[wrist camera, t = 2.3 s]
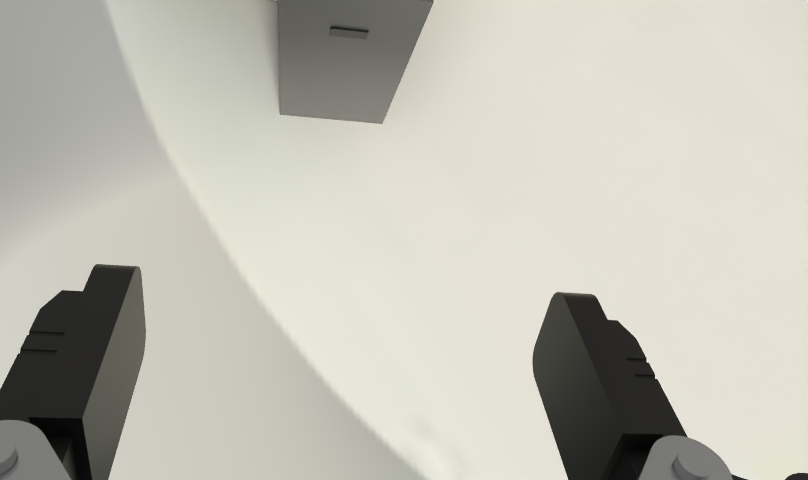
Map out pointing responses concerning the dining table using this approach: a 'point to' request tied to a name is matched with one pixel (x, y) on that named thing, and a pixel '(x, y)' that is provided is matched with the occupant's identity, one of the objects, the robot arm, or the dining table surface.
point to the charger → (345, 55)
